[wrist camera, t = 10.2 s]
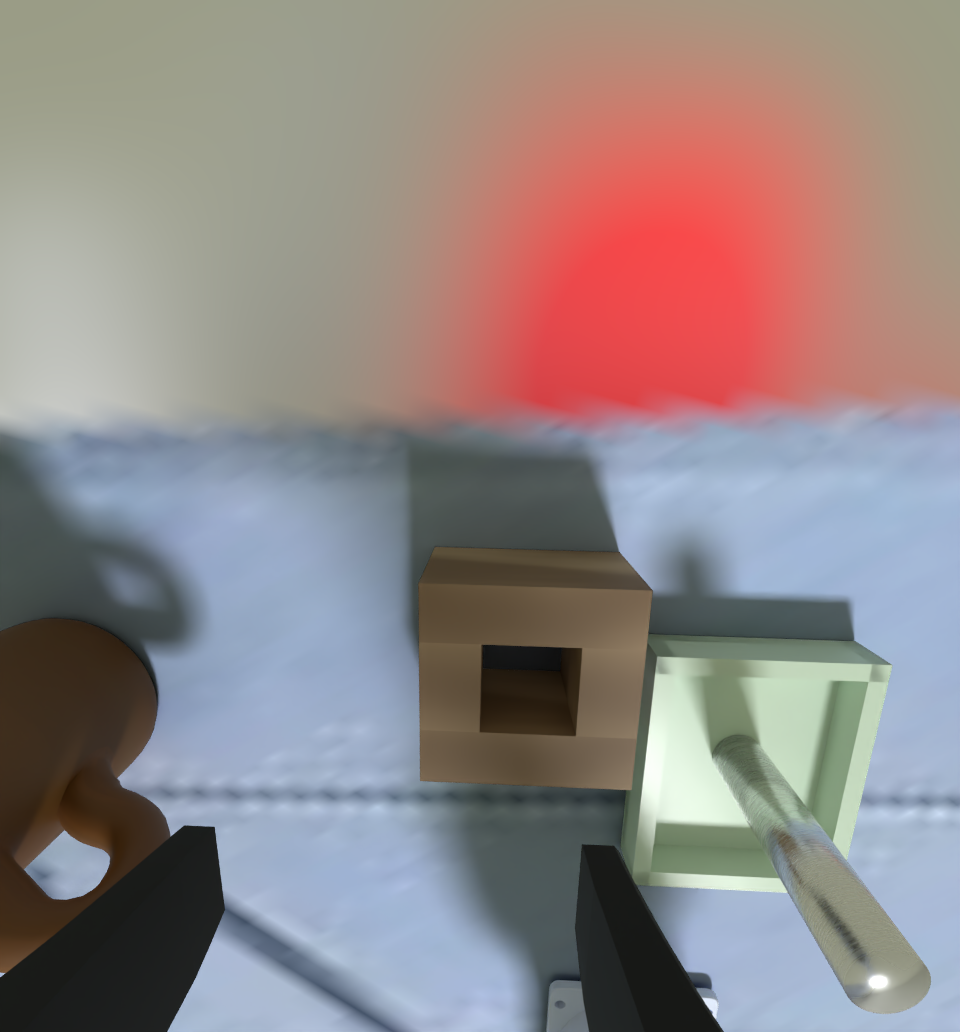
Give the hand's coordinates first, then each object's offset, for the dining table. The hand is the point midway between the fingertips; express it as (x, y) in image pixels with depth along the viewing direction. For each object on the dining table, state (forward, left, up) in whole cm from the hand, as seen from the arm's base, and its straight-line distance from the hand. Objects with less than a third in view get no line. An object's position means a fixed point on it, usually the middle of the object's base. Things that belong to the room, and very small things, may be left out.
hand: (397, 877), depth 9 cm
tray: (-5, -12, -10) cm, 17 cm away
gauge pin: (-5, -12, -10) cm, 16 cm away
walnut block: (0, -3, -10) cm, 11 cm away
